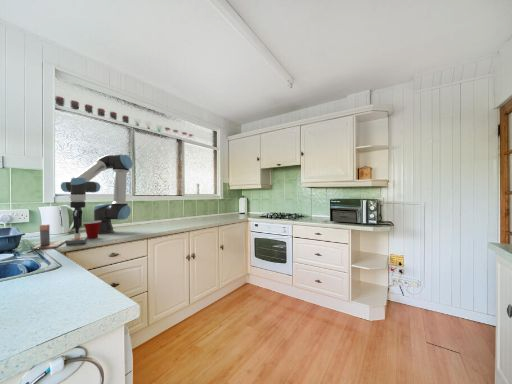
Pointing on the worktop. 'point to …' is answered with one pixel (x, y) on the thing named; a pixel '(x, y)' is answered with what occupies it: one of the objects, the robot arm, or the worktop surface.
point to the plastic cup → (92, 228)
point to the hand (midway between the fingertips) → (77, 238)
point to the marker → (44, 235)
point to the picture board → (52, 245)
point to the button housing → (77, 241)
